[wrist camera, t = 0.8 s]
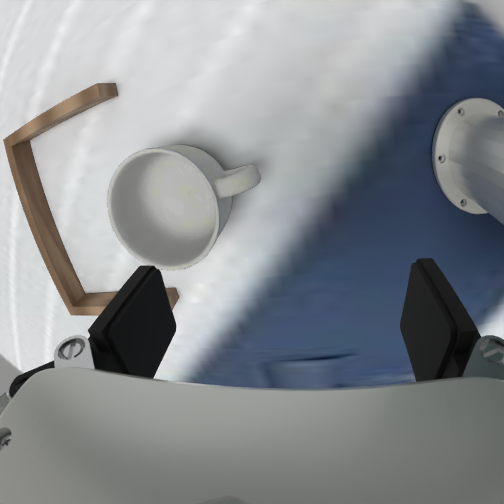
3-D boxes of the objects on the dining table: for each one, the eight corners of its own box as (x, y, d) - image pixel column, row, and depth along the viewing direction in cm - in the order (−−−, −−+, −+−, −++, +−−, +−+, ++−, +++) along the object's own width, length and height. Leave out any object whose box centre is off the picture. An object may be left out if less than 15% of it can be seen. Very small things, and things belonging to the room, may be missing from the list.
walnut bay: (115, 83, 27) (97, 83, 24) (179, 297, 39) (169, 314, 35) (21, 134, 31) (3, 139, 28) (82, 301, 42) (70, 315, 39)
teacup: (157, 238, 35) (125, 274, 28) (133, 148, 30) (90, 165, 23) (277, 226, 32) (269, 264, 25) (260, 121, 27) (246, 128, 20)
